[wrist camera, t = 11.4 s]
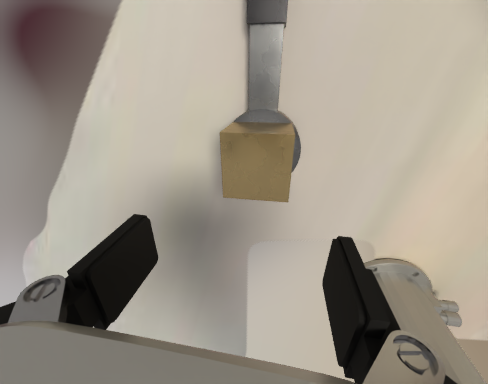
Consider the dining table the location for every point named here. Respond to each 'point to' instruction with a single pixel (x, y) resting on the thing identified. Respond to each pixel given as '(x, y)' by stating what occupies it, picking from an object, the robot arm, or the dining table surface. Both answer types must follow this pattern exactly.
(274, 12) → the ratchet
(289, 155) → the brass-coloured cube
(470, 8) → the dining table surface
